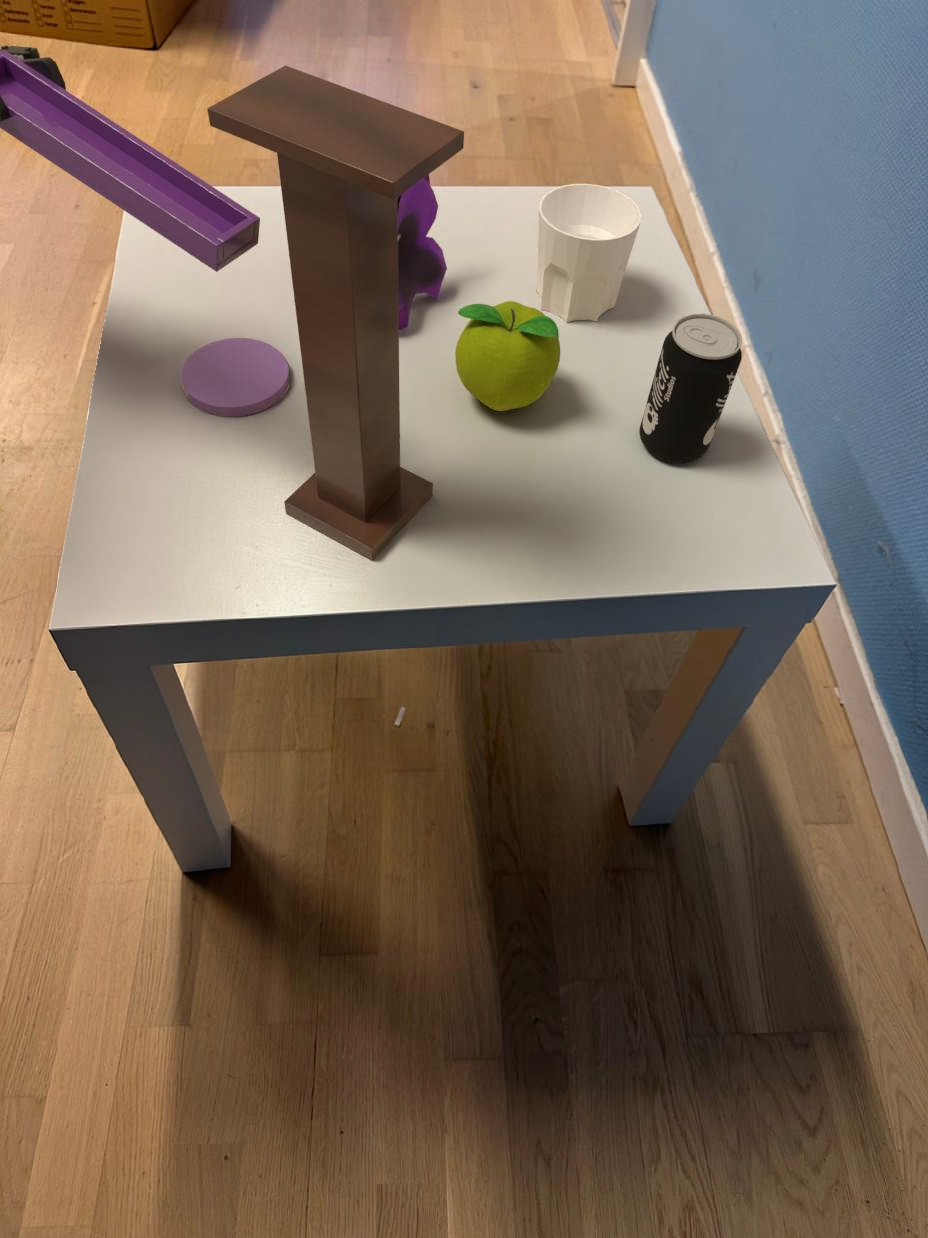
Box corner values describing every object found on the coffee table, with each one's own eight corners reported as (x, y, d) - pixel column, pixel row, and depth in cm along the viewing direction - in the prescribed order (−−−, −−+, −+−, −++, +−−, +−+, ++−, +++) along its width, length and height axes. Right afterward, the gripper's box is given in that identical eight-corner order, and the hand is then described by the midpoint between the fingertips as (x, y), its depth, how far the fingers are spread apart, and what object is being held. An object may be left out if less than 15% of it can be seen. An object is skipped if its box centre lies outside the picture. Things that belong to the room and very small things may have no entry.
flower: (308, 356, 96) (400, 348, 87) (237, 217, 87) (332, 193, 78) (386, 289, 103) (477, 276, 95) (328, 155, 94) (423, 128, 86)
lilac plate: (242, 431, 81) (240, 421, 80) (160, 388, 84) (157, 378, 83) (311, 373, 86) (310, 363, 85) (231, 334, 89) (229, 324, 88)
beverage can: (686, 478, 81) (724, 371, 71) (624, 445, 83) (653, 336, 73) (720, 439, 84) (761, 331, 74) (659, 408, 86) (691, 300, 76)
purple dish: (216, 272, 60) (217, 245, 58) (-42, 100, 61) (-49, 69, 59) (258, 243, 62) (260, 217, 60) (8, 78, 64) (3, 48, 62)
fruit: (528, 444, 82) (541, 354, 74) (438, 409, 84) (442, 319, 76) (567, 386, 87) (583, 297, 79) (481, 355, 89) (488, 265, 81)
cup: (610, 270, 99) (628, 182, 91) (630, 326, 93) (651, 238, 85) (521, 272, 98) (531, 184, 90) (536, 329, 92) (548, 241, 84)
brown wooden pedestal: (391, 571, 73) (382, 190, 47) (267, 503, 76) (194, 114, 50) (452, 504, 77) (474, 124, 51) (332, 443, 81) (295, 58, 55)
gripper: (-231, 73, 62) (-96, 60, 54) (-60, 12, 70) (80, -8, 61) (-158, 186, 67) (-25, 189, 59) (-7, 117, 75) (129, 111, 67)
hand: (28, 88), depth 60 cm, fingers closed on purple dish, 4 cm apart
